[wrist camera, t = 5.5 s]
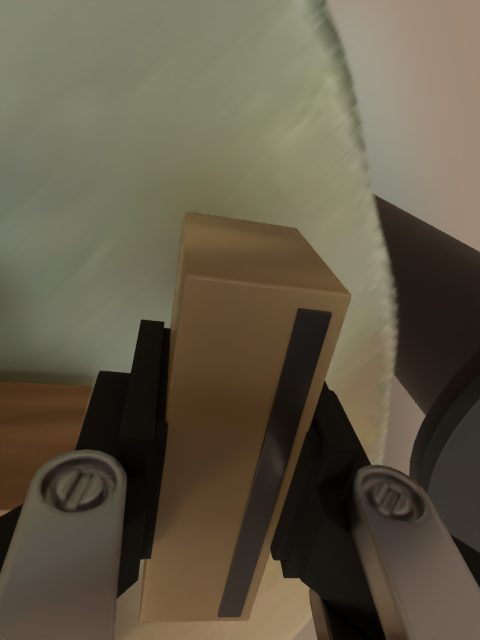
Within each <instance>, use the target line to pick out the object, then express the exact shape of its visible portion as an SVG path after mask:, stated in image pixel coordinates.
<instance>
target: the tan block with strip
mask: <svg viewBox="0 0 480 640" xmlns="http://www.w3.org/2000/svg"><path fill="white" fill-rule="evenodd" d="M350 299H351V294H350V293H349V292H348V290H347V289H346V288H345V287H344V286H343V284H342V283H341V282H340V281H339V279H338V278H337V277H336V276H335V275H334V273H333V272H332V271H331V270H330V268H329V267H328V266H327V265H326V264H325V262H324V261H323V260H322V259H321V257H320V256H319V255H318V254H317V253H316V251H315V250H314V249H313V248H312V247H311V245H310V244H309V243H308V242H307V240H306V239H305V238H304V237H303V236H302V234H301V233H300V232H299V231H298V229H296V228H292V227H285V226H279V225H272V224H265V223H259V222H252V221H246V220H239V219H233V218H226V217H219V216H213V215H206V214H200V213H193V212H185V214H184V221H183V229H182V237H181V245H180V253H179V261H178V269H177V278H176V286H175V294H174V302H173V310H172V318H171V327H170V329H171V331H170V348H169V364H168V381H167V397H166V413H165V421H166V422H167V423H168V434H167V445H166V453H165V461H164V468H163V475H162V483H161V490H160V497H159V504H158V512H157V519H156V526H155V533H154V541H153V548H152V555H151V559H144V569H143V581H142V592H141V603H140V615H139V620H140V622H188V621H247V620H248V619H249V616H250V613H251V610H252V607H253V604H254V601H255V598H256V594H257V591H258V588H259V585H260V582H261V579H262V576H263V572H264V569H265V566H266V563H267V560H268V557H269V554H270V546H271V543H272V540H273V537H274V533H275V530H276V527H277V524H278V521H279V518H280V515H281V511H282V508H283V505H284V502H285V499H286V496H287V492H288V489H289V486H290V483H291V480H292V477H293V474H294V470H295V467H296V464H297V461H298V458H299V455H300V451H301V448H302V445H303V442H304V439H305V436H306V432H308V431H309V428H310V425H311V421H312V418H313V415H314V412H315V409H316V406H317V403H318V399H319V396H320V393H321V390H322V387H323V384H324V381H325V377H326V374H327V371H328V368H329V365H330V362H331V359H332V355H333V352H334V349H335V346H336V343H337V340H338V337H339V333H340V330H341V327H342V324H343V321H344V318H345V315H346V311H347V308H348V305H349V302H350Z"/></svg>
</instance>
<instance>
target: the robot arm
mask: <svg viewBox="0 0 480 640" xmlns="http://www.w3.org/2000/svg"><path fill="white" fill-rule="evenodd" d="M170 331H171V329H170V328H164V322H160V321H151V320H141V323H140V328H139V333H138V339H137V344H136V349H135V354H134V359H133V365H132V370H131V373H122V372H110V371H100V372H99V374H98V376H97V380H96V383H95V386H94V389H93V393H92V396H91V399H90V402H89V406H88V409H87V412H86V415H85V419H84V422H83V425H82V428H81V432H80V435H79V438H78V441H77V445H76V448H75V450H74V451H70V452H67V453H63V454H60V455H58V456H56V457H54V458H53V459H51V460H49V461H47V462H46V463H45V464H44V465H43V466H42V467H41V468H40V469H39V470H38V471H37V472H36V474H35V476H34V477H33V479H32V481H31V483H30V486H29V489H28V492H27V495H26V498H25V501H24V503H23V504H21V505H20V506H18V507H16V508H14V509H13V510H11V511H9V512H7V513H6V514H4V515H2V516H0V640H113V632H114V621H115V610H116V599H117V598H118V597H119V596H120V595H122V594H123V593H124V592H125V591H126V590H127V589H128V588H129V587H131V586H132V585H133V584H134V583H135V582H136V581H137V580H138V574H139V566H140V559H151V555H152V548H153V541H154V533H155V526H156V519H157V512H158V504H159V497H160V490H161V483H162V475H163V468H164V461H165V453H166V445H167V434H168V423H167V422H166V421H165V413H166V397H167V381H168V364H169V348H170ZM270 550H271V554H272V558H273V559H274V560H280V561H281V566H282V571H283V576H284V578H300V579H301V581H302V582H303V583H305V584H306V585H307V586H308V587H309V588H310V590H309V597H310V605H311V610H312V615H313V620H314V624H315V630H316V634H317V639H318V640H480V553H479V552H478V551H476V550H475V549H473V548H472V547H470V546H468V545H467V544H465V543H464V542H462V541H461V540H459V539H457V538H456V537H454V536H453V535H451V534H450V533H449V532H448V530H447V528H446V527H445V525H444V523H443V521H442V519H441V517H440V516H439V514H438V512H437V510H436V508H435V507H434V505H433V503H432V501H431V499H430V498H429V496H428V495H427V494H426V492H425V491H424V489H423V488H422V487H421V486H420V485H419V484H418V483H417V482H415V481H414V480H413V479H412V478H410V477H409V476H407V475H405V474H404V473H402V472H401V471H398V470H395V469H393V468H391V467H386V466H382V465H371V463H370V461H369V459H368V457H367V455H366V453H365V451H364V449H363V447H362V445H361V443H360V441H359V439H358V437H357V435H356V433H355V431H354V429H353V427H352V425H351V423H350V421H349V419H348V417H347V415H346V413H345V411H344V409H343V407H342V405H341V403H340V401H339V399H338V397H337V395H336V394H335V393H334V391H331V390H329V388H328V386H327V384H326V382H325V381H324V384H323V387H322V390H321V393H320V396H319V399H318V403H317V406H316V409H315V412H314V415H313V418H312V421H311V425H310V428H309V431H308V432H306V436H305V439H304V442H303V445H302V448H301V451H300V455H299V458H298V461H297V464H296V467H295V470H294V474H293V477H292V480H291V483H290V486H289V489H288V492H287V496H286V499H285V502H284V505H283V508H282V511H281V515H280V518H279V521H278V524H277V527H276V530H275V533H274V537H273V540H272V543H271V546H270Z"/></svg>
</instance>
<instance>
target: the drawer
mask: <svg viewBox="0 0 480 640" xmlns="http://www.w3.org/2000/svg"><path fill="white" fill-rule="evenodd" d="M91 396H92V387H87V386H70V385H54V384H38V383H22V382H5V381H0V516H2V515H4V514H6V513H7V512H9V511H11V510H13V509H14V508H16V507H18V506H20V505H21V504H23V503H24V501H25V498H26V495H27V492H28V489H29V486H30V483H31V481H32V479H33V477H34V476H35V474H36V472H37V471H38V470H39V469H40V468H41V467H42V466H43V465H44V464H45V463H46V462H47V461H49V460H51V459H53V458H54V457H56V456H58V455H60V454H63V453H67V452H70V451H74V450H75V448H76V445H77V441H78V438H79V435H80V432H81V428H82V425H83V422H84V419H85V415H86V412H87V409H88V406H89V402H90V399H91Z"/></svg>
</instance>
